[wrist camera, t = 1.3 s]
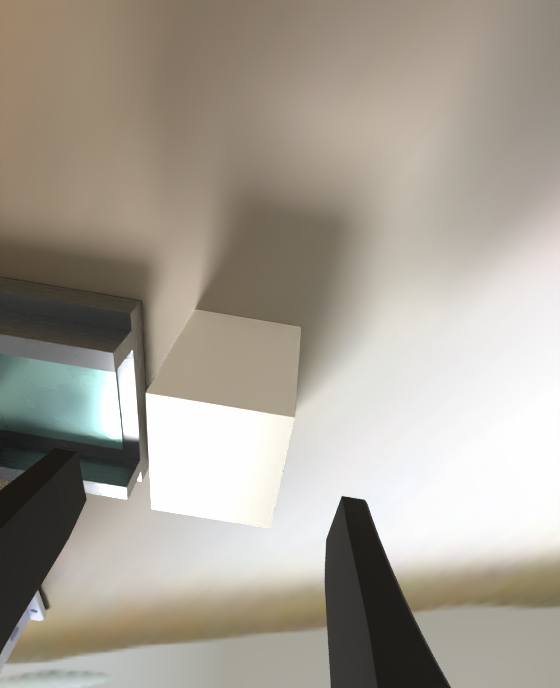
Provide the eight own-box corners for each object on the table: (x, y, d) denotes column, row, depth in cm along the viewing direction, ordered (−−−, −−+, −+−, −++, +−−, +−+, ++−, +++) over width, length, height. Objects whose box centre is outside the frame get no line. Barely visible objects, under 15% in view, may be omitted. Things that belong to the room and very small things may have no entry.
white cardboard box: (301, 326, 15) (294, 417, 10) (280, 433, 18) (268, 539, 13) (195, 308, 15) (145, 393, 10) (192, 418, 18) (151, 519, 13)
